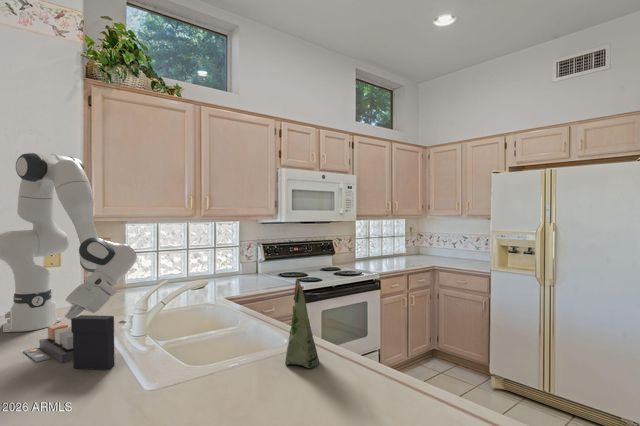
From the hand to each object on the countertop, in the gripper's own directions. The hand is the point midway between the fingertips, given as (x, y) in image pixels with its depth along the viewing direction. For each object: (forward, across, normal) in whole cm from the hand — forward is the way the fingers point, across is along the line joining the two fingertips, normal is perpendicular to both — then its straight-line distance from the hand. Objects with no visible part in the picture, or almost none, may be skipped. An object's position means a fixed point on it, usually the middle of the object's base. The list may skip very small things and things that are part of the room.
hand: (67, 318), depth 122 cm
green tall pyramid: (-19, +69, +35) cm, 80 cm away
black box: (+8, +22, +8) cm, 24 cm away
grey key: (+6, +7, +5) cm, 10 cm away
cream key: (+6, 0, +5) cm, 7 cm away
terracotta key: (+6, -7, +5) cm, 10 cm away
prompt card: (+13, -3, +2) cm, 14 cm away
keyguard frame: (+8, 0, +7) cm, 11 cm away
